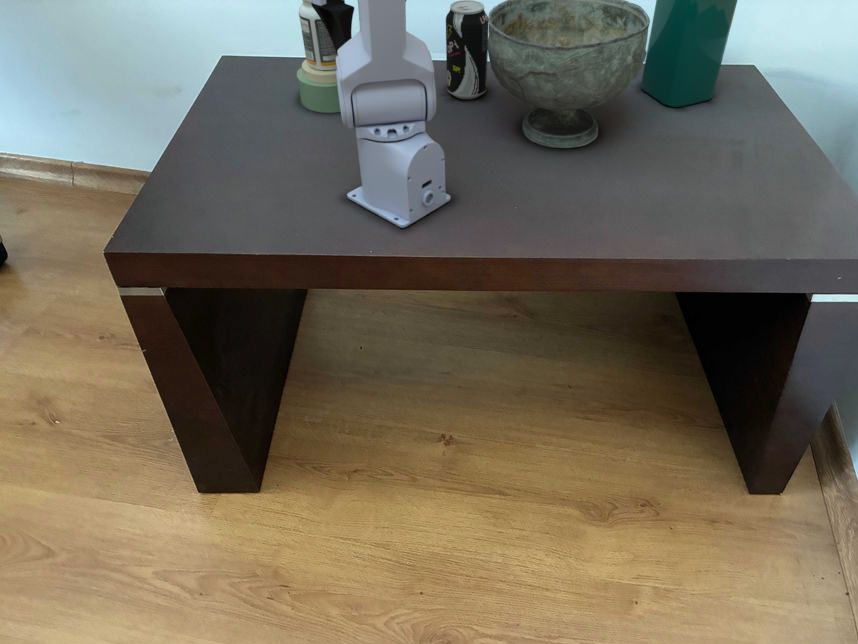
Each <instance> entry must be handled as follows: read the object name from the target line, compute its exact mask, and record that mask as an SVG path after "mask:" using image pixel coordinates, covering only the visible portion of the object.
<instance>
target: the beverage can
mask: <svg viewBox="0 0 858 644" xmlns="http://www.w3.org/2000/svg"><path fill="white" fill-rule="evenodd" d="M488 16H489V15H488V14H487V13H486V11H485V5H484V3H482V2H480V1H477V0H457V1H454V2H452V3H451V4H450V5H449V11H448V13H447V14H446V16H445V44H446V45H445V51H446V52H445V54H446V57H445V58H446V61H445V62H446V90H447V92H448V93H449V94H451V95H452V96H454V97H455V98H456V99H457V98H458V99H460V100H473V99H474V100H475V99H477V98H478V97H480V96H482V95H483V94H485V93H486V92H487V89H488V59H489V54H488V45H487V43H488V37H489V23H488Z"/></svg>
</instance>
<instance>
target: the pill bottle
mask: <svg viewBox="0 0 858 644" xmlns="http://www.w3.org/2000/svg"><path fill="white" fill-rule="evenodd" d="M301 1H302V3H301V4H300V5H299V7H298V17H299V22H300V29H301V35H302V42H303V48H304V54H305V60H307V63H308V65H309V66H310V67H312V68H314V69H317V70H334V69H337V67H336V57H337V53H336V51H335V48H334V45H333V43H332V40H331V38H330V35H329V33H328V31H327V29H326V27H325V25H324V23H323V22H322V20H321V18H320V17H319V15H318V14H317V12H316V11H315V10H314V8H313V7H312V4H311V2H309V0H301Z"/></svg>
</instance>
